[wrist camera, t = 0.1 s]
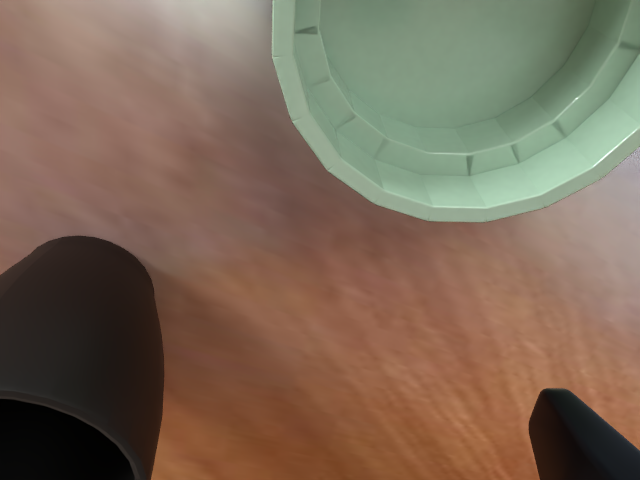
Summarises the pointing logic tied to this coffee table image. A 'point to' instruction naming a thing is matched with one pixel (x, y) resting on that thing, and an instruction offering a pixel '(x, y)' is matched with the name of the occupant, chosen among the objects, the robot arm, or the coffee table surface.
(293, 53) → the bowl
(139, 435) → the mug
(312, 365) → the coffee table surface
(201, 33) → the coffee table surface
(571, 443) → the robot arm
